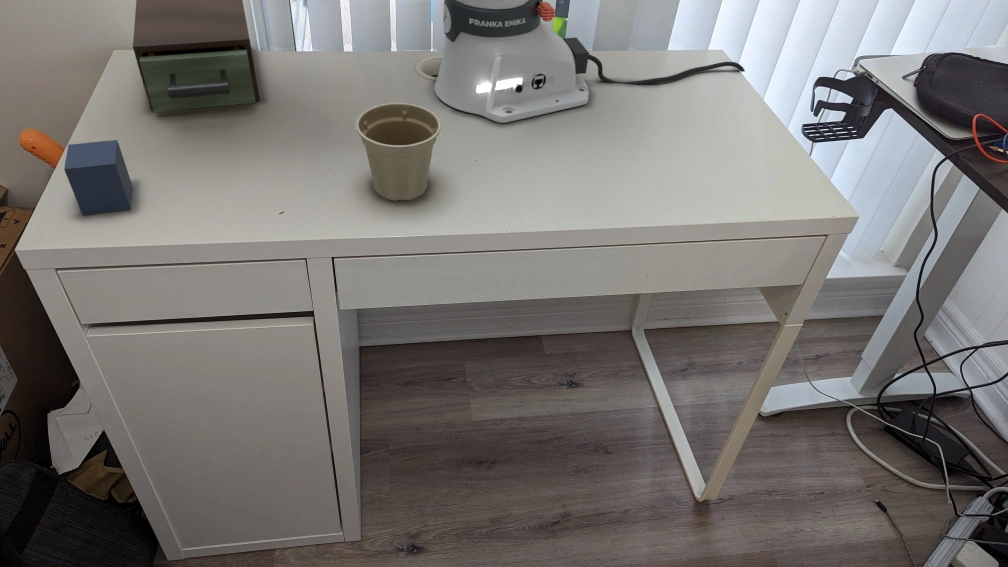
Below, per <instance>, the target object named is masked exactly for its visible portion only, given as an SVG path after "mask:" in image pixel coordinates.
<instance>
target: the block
mask: <svg viewBox="0 0 1008 567" xmlns="http://www.w3.org/2000/svg"><path fill="white" fill-rule="evenodd" d="M63 171H64V174H65V175H66V178H67V181H68V183H69V185H70V188H71V190H72V192H73V195H74V197H75V201H76V203H77V206H78V207H79V210H80V213H81V216H89V215H98V214H105V213H106V214H107V213H113V212H122V211H123V212H124V211H129V210H132V196H133V195H132V194H133V182H132V180H131V177H130V174H129V170H128V168H127V165H126V162H125V158H124V156H123V153H122V150H121V146H120V143H119V140H118V139H111V140H102V141H92V142H81V143H70V144H68V145H67V150H66V156H65V162H64V168H63Z"/></svg>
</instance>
